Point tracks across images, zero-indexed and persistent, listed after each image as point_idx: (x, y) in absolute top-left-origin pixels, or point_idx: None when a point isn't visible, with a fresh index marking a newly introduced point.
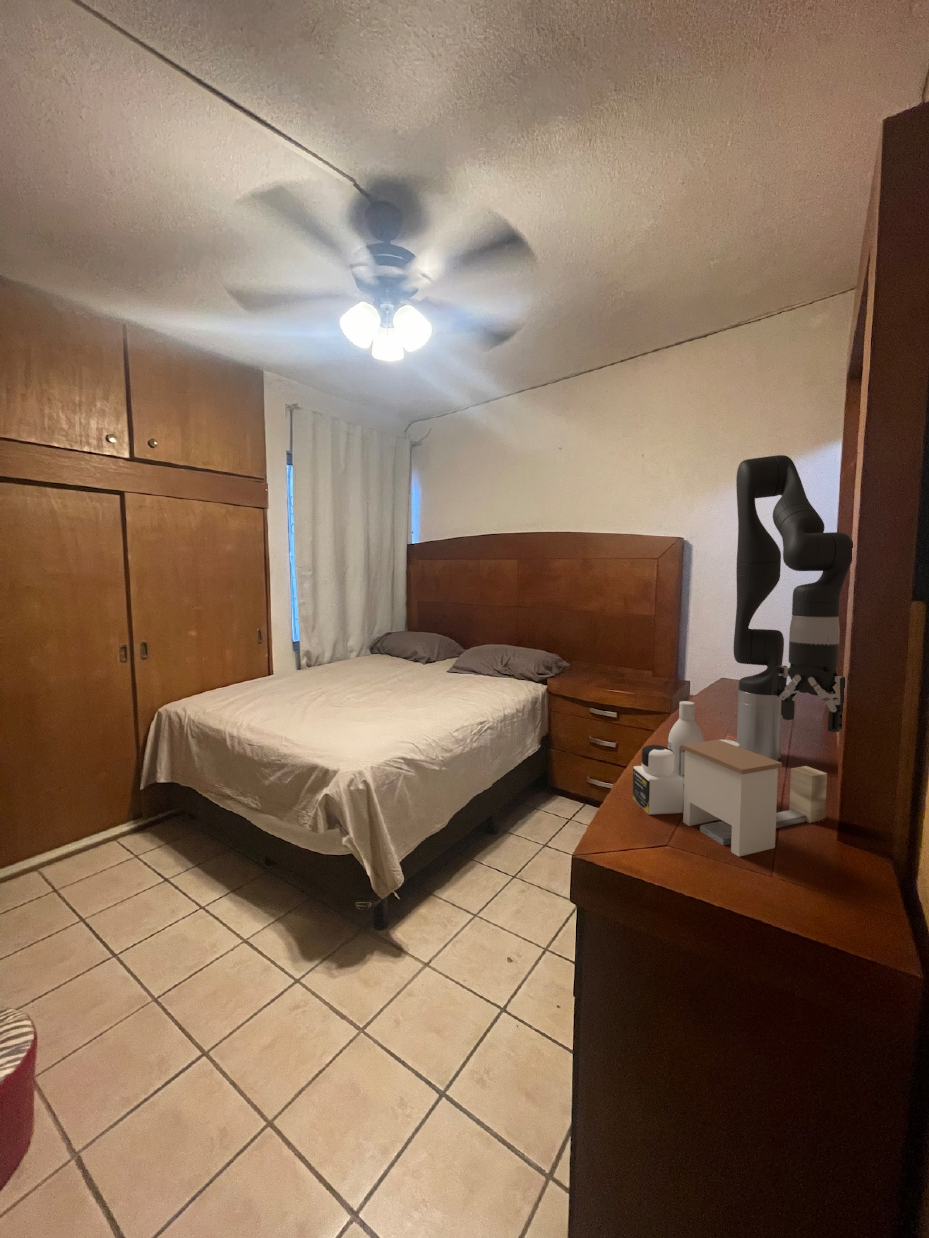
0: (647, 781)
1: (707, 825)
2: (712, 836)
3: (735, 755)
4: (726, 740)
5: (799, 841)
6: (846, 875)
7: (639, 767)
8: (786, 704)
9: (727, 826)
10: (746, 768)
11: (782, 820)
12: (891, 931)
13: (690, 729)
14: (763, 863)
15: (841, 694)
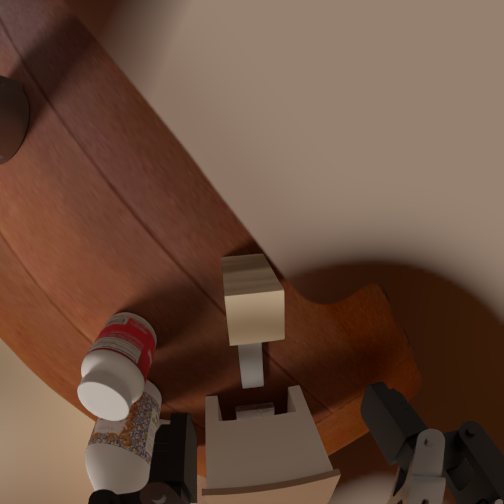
0: None
1: None
2: None
3: (284, 501)
4: (84, 391)
5: (299, 349)
6: (365, 352)
7: None
8: (196, 492)
9: (250, 413)
10: (327, 500)
11: (261, 346)
12: (410, 374)
13: None
14: (315, 409)
15: (460, 500)
